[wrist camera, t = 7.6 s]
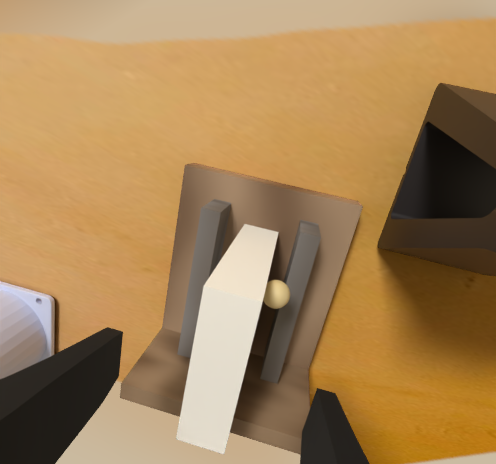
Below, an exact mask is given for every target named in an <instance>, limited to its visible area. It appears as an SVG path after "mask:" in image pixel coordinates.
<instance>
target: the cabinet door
mask: <svg viewBox="0 0 496 464" xmlns="http://www.w3.org/2000/svg"><path fill="white" fill-rule="evenodd" d="M278 233H279V232H276V231H272V230H268V229H264V228H260V227H255V226H251V225H247V224H244V226H243V227H242V229H241V230H240V232H239V233H238V235H237V236H236V238H235V239H234V241H233V242H232V244H231V245H230V247H229V248H228V250H227V251H226V253H225V254H224V256H223V257H222V259H221V260H220V262H219V263H218V265H217V266H216V268H215V270H214V271H213V273H212V274H211V276H210V277H209V279H208V280H207V282H206V283H205V285H204V287H203V292H202V298H201V303H200V309H199V314H198V320H197V325H196V331H195V337H194V342H193V348H192V353H191V359H190V364H189V370H188V375H187V381H186V386H185V392H184V398H183V403H182V409H181V414H180V420H179V425H178V431H177V436H176V439H177V440H180V441H184V442H186V443H190V444H193V445H196V446H199V447H202V448H205V449H209V450H212V451H215V452H218V453H221V454H224V453H225V449H226V445H227V441H228V437H229V433H230V429H231V425H232V421H233V417H234V413H235V409H236V405H237V401H238V397H239V393H240V389H241V385H242V381H243V377H244V374H245V370H246V366H247V362H248V358H249V354H250V350H251V346H252V342H253V338H254V334H255V330H256V326H257V322H258V318H259V314H260V310H261V306H262V302H263V301H264V302H265V304H266V305H267V306H269V307H271V308H274V309H278V308H282V307H284V306H285V305H286V304H287V303H288V301H289V299H290V290H289V288H288V286H287V285H286V284H285V283H284V282H282V281H280V280H272V281H269V282H268V283H267V281H268V276H269V272H270V268H271V263H272V259H273V255H274V250H275V246H276V242H277V237H278Z"/></svg>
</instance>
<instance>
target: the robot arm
mask: <svg viewBox="0 0 496 464" xmlns="http://www.w3.org/2000/svg"><path fill="white" fill-rule="evenodd" d="M40 299H41V300H42V301H41V300H40ZM54 322H55V302H54V299H53V297H51V296H50V295H47V294H43V293H40V292H36V291H33V290H29V289H26V288H22V287H19V286H15V285H12V284H8V283H5V282H1V281H0V464H55V463H56V462H57V460H58V459H59V458H60V457H61V455H62V454H63V453H64V451H65V450H66V449H67V448H68V446H69V445H70V444H71V443H72V441H73V440H74V439H75V437H76V436H77V435H78V433H79V432H80V431H81V430H82V429H83V427H84V426H85V425H86V423H87V422H88V421H89V420H90V418H91V417H92V416H93V414H94V413H95V412H96V410H97V409H98V408H99V406H100V405H101V404H102V402H103V401H104V399H105V398H106V396H107V395H108V393H109V391H110V390H111V388H112V386H113V385H114V383H115V381H116V380H117V378H118V376H119V368H120V357H121V346H122V336H123V332H122V331H118V330H115V329H111V328H108V327H107V328H105V329H103V330H101V331H99V332H97V333H95V334H93V335H91V336H90V337H88V338H86V339H84V340H82V341H80V342H78V343H76V344H74V345H72V346H70V347H68V348H66V349H64V350H62V351H60V352H58V353H56V354H55V355H54ZM300 464H369V462H368V460H367V458H366V456H365V454H364V452H363V450H362V448H361V446H360V444H359V442H358V440H357V438H356V436H355V434H354V432H353V430H352V428H351V426H350V424H349V422H348V420H347V418H346V415H345V413H344V411H343V409H342V407H341V404H340V402H339V400H338V398H337V396H336V394H335V393H332V392H329V391H325V390H322V389H318V388H317V391H316V394H315V396H314V399H313V402H312V405H311V408H310V411H309V413H308V416H307V419H306V422H305V425H304V427H303V430H302V440H301V460H300Z"/></svg>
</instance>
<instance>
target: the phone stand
mask: <svg viewBox="0 0 496 464" xmlns="http://www.w3.org/2000/svg"><path fill="white" fill-rule="evenodd" d="M378 248H381V249H385V250H389V251H393V252H397V253H401V254H405V255H409V256H413V257H417V258H421V259H424V260H428V261H432V262H436V263H440V264H444V265H448V266H452V267H456V268H460V269H464V270H468V271H471V272H475V273H479V274H483V275H490V276H496V94H493V93H488V92H483V91H478V90H473V89H469V88H464V87H459V86H454V85H449V84H444V83H440V84H439V85H438V86H437V88H436V90H435V92H434V95H433V98H432V100H431V103H430V106H429V108H428V111H427V114H426V116H425V119H424V121H423V124H422V127H421V129H420V132H419V135H418V137H417V140H416V143H415V145H414V148H413V151H412V153H411V156H410V159H409V161H408V164H407V167H406V172H405V174H404V175H403V177H402V180H401V183H400V185H399V188H398V191H397V193H396V196H395V199H394V201H393V204H392V206H391V209H390V212H389V214H388V217H387V220H386V222H385V225H384V228H383V230H382V233H381V236H380V238H379V241H378Z"/></svg>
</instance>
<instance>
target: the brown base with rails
mask: <svg viewBox="0 0 496 464" xmlns="http://www.w3.org/2000/svg"><path fill="white" fill-rule="evenodd" d="M362 208H363V206H362V205H361V204H360V203H359V202H358V201H355V200H350V199H346V198H342V197H337V196H333V195H329V194H324V193H320V192H316V191H312V190H307V189H303V188H299V187H294V186H290V185H286V184H281V183H277V182H273V181H269V180H264V179H260V178H256V177H251V176H247V175H243V174H238V173H234V172H230V171H226V170H221V169H217V168H213V167H208V166H204V165H200V164H195V163H192V164H187V165H185V169H184V176H183V183H182V190H181V197H180V205H179V212H178V219H177V226H176V233H175V240H174V247H173V255H172V262H171V269H170V276H169V283H168V290H167V297H166V305H165V312H164V319H163V326H162V329H161V330H160V331H159V333H158V334H157V336H156V337H155V338H154V340H153V341H152V342H151V344H150V345H149V346H148V348H147V349H146V350H145V352H144V353H143V355H142V356H141V357H140V359H139V360H138V361H137V363H136V364H135V365H134V367H133V368H132V370H131V371H130V372H129V374H128V375H127V376H126V378H125V379H124V380H123V382H122V383H121V393H120V398H122V399H125V400H129V401H132V402H135V403H138V404H141V405H145V406H148V407H151V408H154V409H157V410H160V411H164V412H167V413H170V414H173V415H176V416H180V414H181V409H182V403H183V398H184V392H185V386H186V381H187V375H188V370H189V364H190V359H191V353H192V348H193V342H194V337H195V331H196V325H197V320H198V314H199V309H200V303H201V298H202V292H203V287H204V285H205V283H206V282H207V280H208V279H209V277H210V276H211V274H212V273H213V271H214V270H215V268H216V266H217V265H218V263H219V262H220V260H221V259H222V257H223V256H224V254H225V253H226V251H227V250H228V248H229V247H230V245H231V244H232V242H233V241H234V239H235V238H236V236H237V235H238V233H239V232H240V230H241V229H242V227H243V226H244V224H247V225H251V226H255V227H260V228H264V229H268V230H272V231H276V232H279V233H278V237H277V242H276V246H275V250H274V255H273V259H272V263H271V268H270V272H269V276H268V281H267V283H268V282H269V281H272V280H280V281H282V282H284V283H285V284H286V285H287V286H288V288H289V290H290V299H289V301H288V303H287V304H286V305H285V306H284V307H282V308H278V309H274V308H271V307H269V306H267V305H266V304H265V302H264V301H263V302H262V306H261V310H260V314H259V318H258V322H257V326H256V330H255V334H254V338H253V342H252V346H251V350H250V354H249V358H248V362H247V366H246V370H245V374H244V377H243V381H242V385H241V389H240V393H239V397H238V401H237V405H236V409H235V413H234V417H233V421H232V425H231V429H230V432H231V433H234V434H237V435H240V436H243V437H247V438H250V439H253V440H256V441H259V442H263V443H266V444H269V445H272V446H275V447H279V448H282V449H285V450H288V451H292V452H294V453H298V454H301V440H302V430H303V427H304V425H305V422H306V419H307V416H308V413H309V411H310V398H309V373H308V369H309V366H310V363H311V360H312V357H313V354H314V351H315V348H316V345H317V342H318V339H319V336H320V333H321V330H322V327H323V324H324V321H325V318H326V315H327V312H328V309H329V306H330V303H331V300H332V297H333V294H334V291H335V288H336V285H337V282H338V279H339V276H340V273H341V270H342V267H343V264H344V261H345V258H346V255H347V252H348V250H349V247H350V244H351V241H352V238H353V235H354V232H355V229H356V226H357V223H358V220H359V217H360V214H361V211H362Z"/></svg>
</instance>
